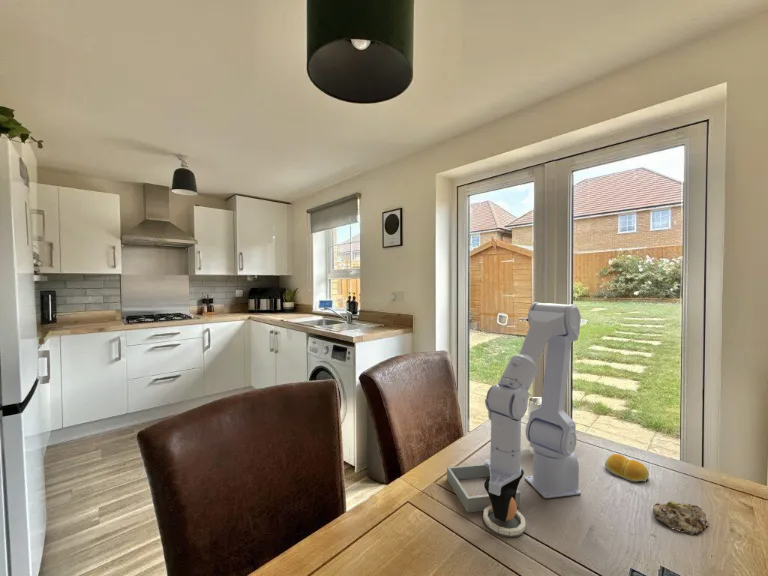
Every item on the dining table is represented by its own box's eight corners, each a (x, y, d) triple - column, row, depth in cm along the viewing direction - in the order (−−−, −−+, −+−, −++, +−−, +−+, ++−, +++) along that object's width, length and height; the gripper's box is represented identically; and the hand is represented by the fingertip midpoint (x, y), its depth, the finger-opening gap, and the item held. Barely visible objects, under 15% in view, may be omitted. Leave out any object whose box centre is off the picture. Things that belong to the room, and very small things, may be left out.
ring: (511, 507, 75) (511, 502, 75) (533, 534, 67) (533, 528, 67) (476, 511, 73) (477, 506, 73) (495, 539, 65) (495, 533, 65)
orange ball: (508, 508, 73) (508, 485, 73) (521, 525, 68) (522, 500, 68) (486, 510, 72) (486, 487, 72) (498, 528, 67) (498, 503, 67)
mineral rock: (681, 528, 66) (645, 492, 73) (673, 545, 67) (639, 508, 75) (728, 525, 67) (688, 490, 75) (719, 541, 69) (681, 505, 76)
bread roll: (644, 488, 82) (644, 471, 82) (602, 471, 89) (602, 456, 89) (652, 475, 88) (653, 459, 88) (612, 460, 95) (612, 446, 94)
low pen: (492, 474, 87) (492, 462, 87) (519, 506, 75) (520, 492, 75) (446, 479, 85) (447, 467, 85) (467, 512, 73) (467, 498, 73)
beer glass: (558, 459, 95) (559, 405, 94) (532, 458, 95) (534, 405, 94) (546, 446, 102) (547, 396, 101) (523, 446, 102) (524, 396, 101)
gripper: (496, 427, 78) (495, 486, 78) (473, 454, 66) (472, 523, 66) (529, 436, 74) (527, 497, 74) (511, 466, 62) (510, 539, 62)
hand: (504, 511), depth 70 cm, fingers closed on orange ball, 5 cm apart
